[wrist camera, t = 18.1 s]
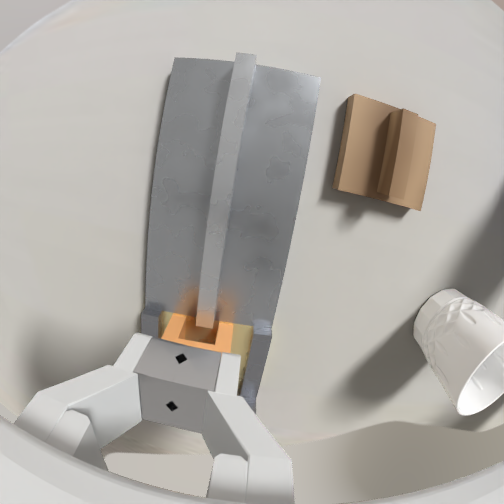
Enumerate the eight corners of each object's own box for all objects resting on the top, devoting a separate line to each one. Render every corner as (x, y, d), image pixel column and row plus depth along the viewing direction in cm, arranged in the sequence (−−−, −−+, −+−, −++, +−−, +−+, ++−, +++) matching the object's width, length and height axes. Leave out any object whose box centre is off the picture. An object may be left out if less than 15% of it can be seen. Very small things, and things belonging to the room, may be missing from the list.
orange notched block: (172, 314, 22) (153, 356, 17) (233, 324, 22) (228, 370, 17) (170, 362, 24) (154, 406, 18) (225, 372, 24) (220, 419, 19)
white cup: (392, 340, 25) (438, 413, 15) (437, 269, 23) (506, 323, 13) (439, 357, 26) (483, 417, 16) (479, 296, 24) (537, 345, 14)
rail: (316, 82, 18) (332, 65, 14) (251, 396, 27) (251, 430, 22) (179, 63, 18) (162, 42, 14) (151, 379, 26) (139, 410, 22)
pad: (426, 125, 19) (450, 122, 16) (411, 207, 21) (434, 216, 18) (348, 97, 19) (364, 87, 15) (332, 187, 21) (346, 193, 17)
